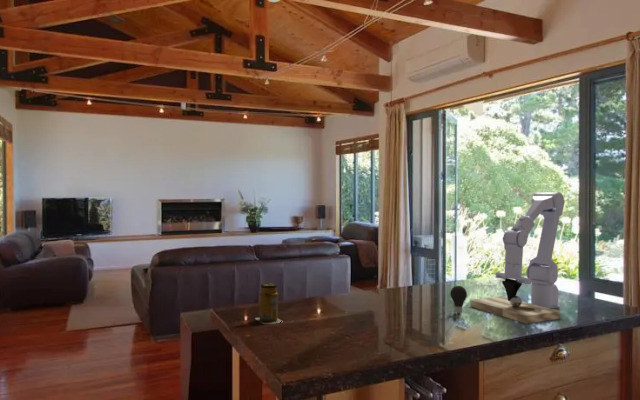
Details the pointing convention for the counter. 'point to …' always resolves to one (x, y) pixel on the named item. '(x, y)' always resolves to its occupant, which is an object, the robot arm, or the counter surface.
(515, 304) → the ball
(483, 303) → the deck
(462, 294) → the light bulb
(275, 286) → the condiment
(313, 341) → the counter surface
